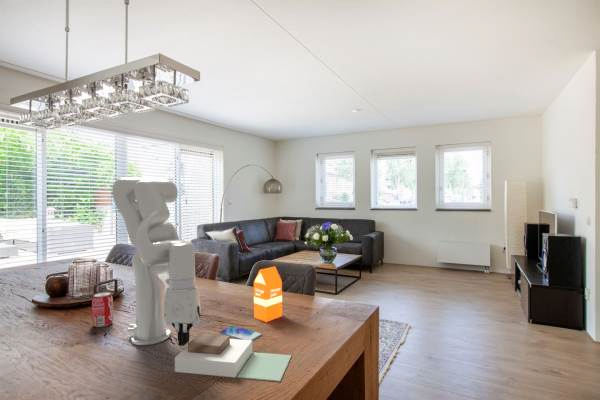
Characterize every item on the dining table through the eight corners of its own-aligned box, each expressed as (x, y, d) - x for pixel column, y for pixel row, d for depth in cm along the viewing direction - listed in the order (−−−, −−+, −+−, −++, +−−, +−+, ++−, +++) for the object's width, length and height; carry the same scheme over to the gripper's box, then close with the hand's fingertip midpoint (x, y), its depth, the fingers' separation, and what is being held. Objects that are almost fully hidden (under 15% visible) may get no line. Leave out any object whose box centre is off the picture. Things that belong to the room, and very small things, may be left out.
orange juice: (253, 317, 132) (253, 268, 132) (270, 311, 138) (269, 265, 138) (266, 322, 127) (265, 271, 126) (282, 316, 133) (282, 267, 133)
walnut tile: (187, 352, 94) (187, 343, 94) (199, 341, 101) (199, 333, 101) (219, 354, 92) (219, 346, 92) (229, 343, 99) (229, 335, 99)
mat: (237, 377, 87) (237, 376, 87) (254, 353, 101) (254, 352, 101) (280, 381, 85) (280, 380, 85) (291, 356, 99) (291, 355, 99)
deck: (175, 371, 91) (174, 357, 91) (199, 348, 105) (199, 336, 105) (235, 377, 87) (235, 362, 87) (252, 353, 101) (252, 340, 101)
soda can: (110, 319, 131) (110, 290, 131) (115, 324, 126) (115, 293, 126) (90, 324, 126) (89, 294, 126) (94, 329, 121) (94, 298, 121)
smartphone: (249, 341, 109) (218, 332, 117) (249, 344, 109) (218, 334, 117) (263, 333, 115) (232, 325, 123) (263, 335, 115) (232, 327, 123)
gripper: (152, 285, 96) (153, 347, 96) (198, 287, 93) (200, 351, 93) (167, 279, 103) (168, 337, 103) (211, 281, 100) (212, 340, 100)
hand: (183, 343), depth 98 cm, fingers closed
